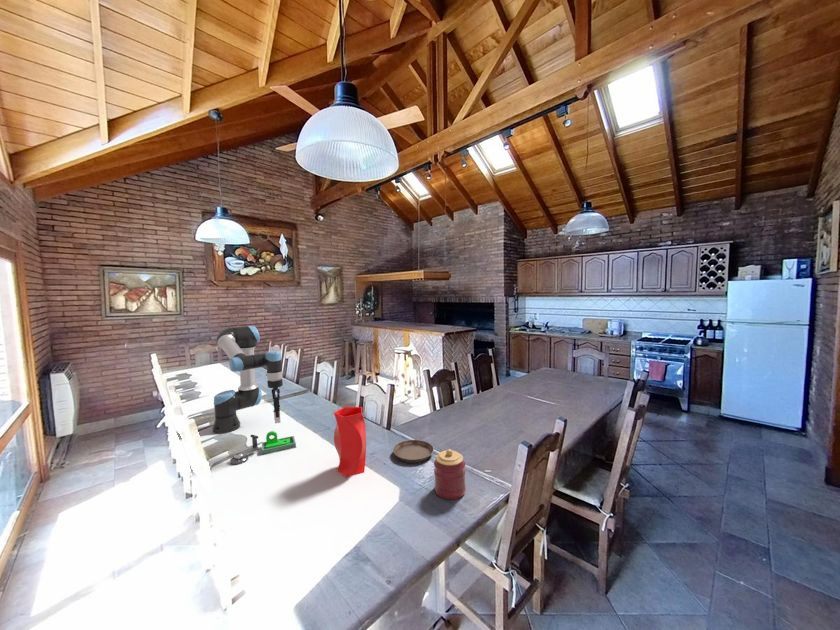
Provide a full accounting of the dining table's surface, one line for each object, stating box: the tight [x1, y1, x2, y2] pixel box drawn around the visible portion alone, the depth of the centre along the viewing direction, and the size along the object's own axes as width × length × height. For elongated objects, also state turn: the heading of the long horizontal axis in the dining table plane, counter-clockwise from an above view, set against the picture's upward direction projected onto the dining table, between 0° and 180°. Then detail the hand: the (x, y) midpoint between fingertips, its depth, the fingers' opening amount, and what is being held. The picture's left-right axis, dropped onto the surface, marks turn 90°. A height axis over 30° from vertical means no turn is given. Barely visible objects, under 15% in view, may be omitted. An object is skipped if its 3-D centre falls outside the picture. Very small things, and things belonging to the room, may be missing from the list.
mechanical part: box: [265, 430, 290, 449], centre depth 178 cm, size 12×6×8 cm, turn 113°
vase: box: [333, 406, 367, 478], centre depth 152 cm, size 15×14×28 cm
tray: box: [261, 435, 297, 456], centre depth 178 cm, size 11×17×2 cm, turn 117°
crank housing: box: [229, 455, 249, 466], centre depth 164 cm, size 8×8×1 cm
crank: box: [233, 434, 259, 460], centre depth 168 cm, size 12×5×8 cm, turn 152°
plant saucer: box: [392, 439, 435, 464], centre depth 166 cm, size 21×21×3 cm
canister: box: [433, 448, 467, 500], centre depth 134 cm, size 13×13×18 cm
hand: (277, 421), depth 177 cm, fingers open, 4 cm apart
